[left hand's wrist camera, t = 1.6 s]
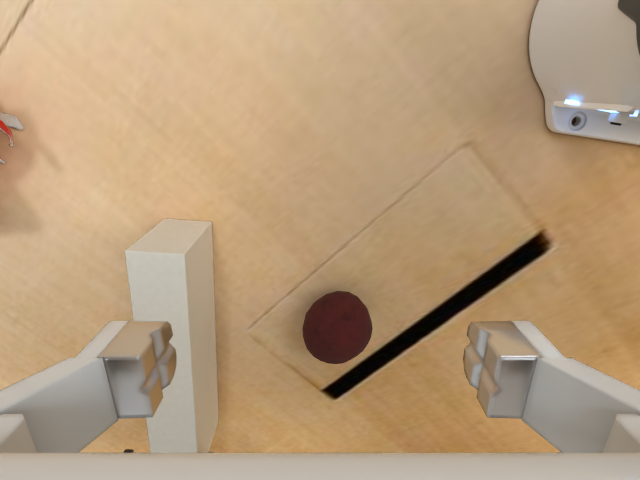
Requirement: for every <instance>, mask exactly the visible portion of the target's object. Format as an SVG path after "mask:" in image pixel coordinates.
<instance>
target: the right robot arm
mask: <svg viewBox="0 0 640 480" xmlns="http://www.w3.org/2000/svg"><path fill="white" fill-rule="evenodd" d="M123 453H134V451H133V450H131V449H126V450H125V451H124V452H123ZM207 453H214V452H207Z"/></svg>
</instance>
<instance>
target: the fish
mask: <svg viewBox="0 0 640 480" xmlns="http://www.w3.org/2000/svg"><path fill="white" fill-rule="evenodd" d="M8 127H11V128H15V129H19V130H22V129H23V126H22V124H21V123H20V122H19V120H18V119H17V118H16V117H15V116H14V115H10V114H4V113H1V112H0V130H1V131H2V132H4V133H5V134H6V135H7V136H8V137H9V139H10V144H9V146H10V147H13V137H12V133H11V131H10V129H9V128H8ZM0 163H2V164H6V162H4V161H3V160H2V159H0Z"/></svg>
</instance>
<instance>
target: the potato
mask: <svg viewBox="0 0 640 480" xmlns="http://www.w3.org/2000/svg"><path fill="white" fill-rule="evenodd" d="M371 333H372V324H371V319H370V316H369V313H368V310H367V308H366V306H365V305H364V304H363V303H362V302H361V300H360V299H359V298H358V297H357V296H355V295H353V294H351V293H349V292H341V291H337V292H333V293H330V294H326V295H325V296H323V297H322V298H320V299H319V300H317V301H316V302H315V303H314V304H313V305H312V306H311V308H310V309H309V311H308V312H307V313H306V316H305V321H304V325H303V338H304V341H305V344H306V347H307V349H308V350H309V352H310V353H311V354H312V355H313V356H314V357H315V358H317V359H319V360H320V361H323V362H326V363H331V364H340V363H344V362H347V361H349V360H351V359H352V358H354V357H356V356H357V355H358V354H360V353H361V352H362V351H363V350H364V348H365V347H366V346H367V344H368V342H369V340H370V338H371Z"/></svg>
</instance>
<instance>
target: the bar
mask: <svg viewBox="0 0 640 480" xmlns="http://www.w3.org/2000/svg"><path fill="white" fill-rule="evenodd" d="M125 256H126V264H127V272H128V280H129V287H130V295H131V303H132V311H133V319H134V321H168V322H169V323H170V324H171V327H172V332H173V336H172V338H171V339H170V341H169V343H170V344H171V345H172V346H173V347H174V348H175V349H176V356H177V365H176V370H175V374H174V377H173V379H172V381H171V383H170V385H168V386H167V387H165V388H164V389H163V390H162V392H163V399H162V401H161V403H160V405H159V406H158V408H157V410H156V412H155V414H154V416H153V417H152V418H146V422H147V430H148V438H149V446H150V453H207V452H209V451H210V447H211V444H212V441H213V437H214V434H215V431H216V428H217V424H218V421H219V413H218V384H217V354H216V324H215V295H214V265H213V235H212V222H210V221H195V220H181V219H166V218H165V219H163V220H162V221H161V222H160V223H159V224H157V225H156V226H155V227H154V228H152V229H151V230H150V231H149V232H147V233H146V234H145V235H144V236H142V237H141V238H140V239H139V240H138V241H136V242H135V243H134V244H133V245H131V246H130V247H129V248H128V249H126V250H125Z"/></svg>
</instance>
